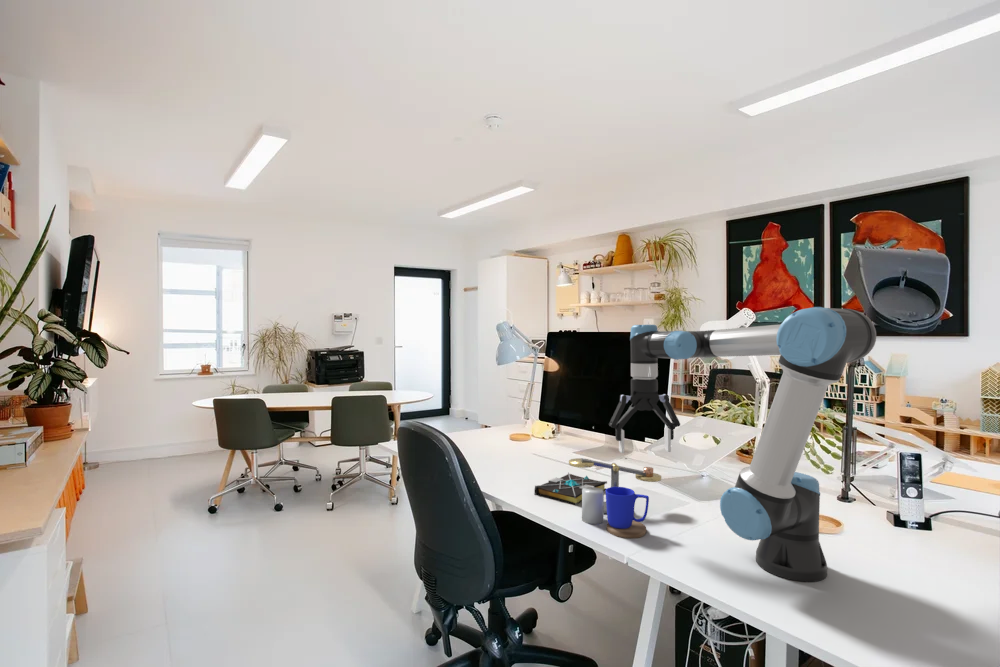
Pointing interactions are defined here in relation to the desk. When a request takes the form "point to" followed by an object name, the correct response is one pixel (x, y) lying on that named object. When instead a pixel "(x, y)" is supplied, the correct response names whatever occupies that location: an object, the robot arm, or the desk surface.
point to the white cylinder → (592, 505)
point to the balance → (617, 472)
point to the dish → (628, 530)
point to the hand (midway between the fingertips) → (644, 451)
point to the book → (567, 488)
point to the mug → (622, 507)
